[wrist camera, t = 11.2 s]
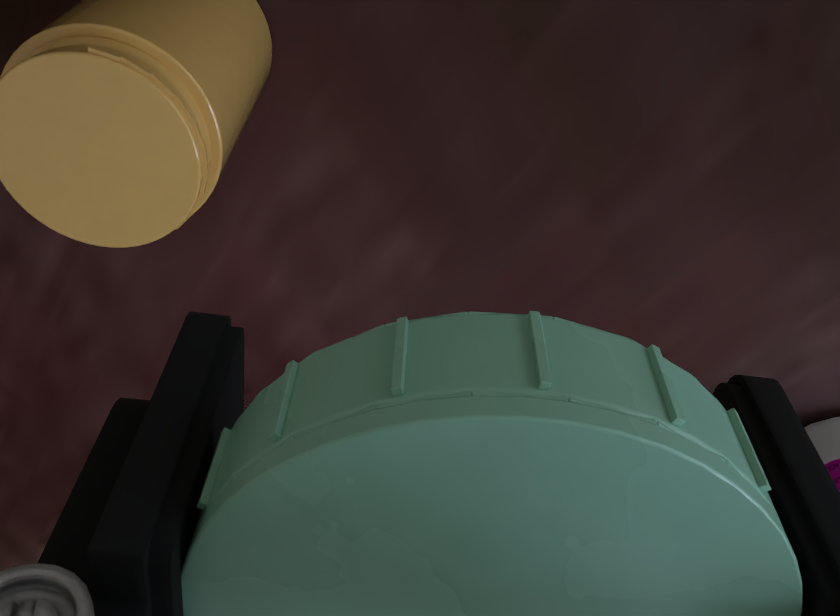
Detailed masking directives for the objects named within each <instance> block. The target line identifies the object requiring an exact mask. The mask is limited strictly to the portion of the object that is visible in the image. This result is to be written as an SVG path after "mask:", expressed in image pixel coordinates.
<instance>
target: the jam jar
mask: <svg viewBox="0 0 840 616" xmlns="http://www.w3.org/2000/svg"><path fill="white" fill-rule="evenodd" d="M271 61H272V43H271V36H270V32H269V28H268V24H267V22H266V19H265V16H264V14H263V12H262V10H261V8H260V6H259V4H258V3H257V1H256V0H81V1H80V2H79V3H77V4H76V5H74V6H73V7H72V8H70V9H69V10H68V11H66V12H65V13H64V14H62V15H61V16H59V17H58V18H57V19H55V20H54V21H53V22H51V23H50V24H48V25H47V26H46V27H44V28H43V29H42V30H40V31H39V32H37V33H36V34H35V35H33V36H32V37H31V38H29V39H28V40H26V41H25V42H24V43H22V44H21V45H20V46H19V47H18V48H17V49H16V51H15V52H14V53H13V54H12V55H11V57H10V58H9V60H8V61H7V63H6V64H5V67H4V69H3V71H2V73H1V76H0V180H1V182H2V183H3V185H4V187H5V188H6V189H7V191H8V192H9V193H10V194H11V196H12V197H13V198H14V199H15V200H16V201H17V202H18V203H19V204H20V205H21V206H22V207H23V208H24V209H25V210H26V211H27V212H28V213H29V214H31V215H32V216H33V217H34V218H36V219H37V220H38V221H40V222H41V223H43V224H44V225H46V226H47V227H49V228H51V229H53V230H54V231H56V232H58V233H60V234H62V235H64V236H67V237H69V238H71V239H74V240H77V241H80V242H83V243H87V244H91V245H96V246H102V247H112V248H122V247H133V246H139V245H143V244H147V243H150V242H153V241H155V240H158V239H160V238H162V237H164V236H166V235H167V234H169V233H171V232H172V231H173V230H175V229H176V230H177V229H178V228H179V227H180V226H181V225H182V224H183V223H184V222H185V221H186V220H187V219H188V218H189V217H190V216H191V215H193V214H194V213H195V212H196V211H197V210H198V209H199V208H200V207H201V206H202V205H203V204H204V203H205V202H206V201H207V199H208V198H209V196H210V195H211V193H212V192H213V190H214V188H215V186H216V184H217V182H218V180H219V178H220V176H221V174H222V172H223V170H224V168H225V165H226V163H227V161H228V159H229V157H230V155H231V153H232V151H233V149H234V147H235V145H236V143H237V141H238V139H239V137H240V135H241V133H242V130H243V128H244V126H245V124H246V122H247V120H248V118H249V116H250V114H251V112H252V110H253V108H254V106H255V104H256V102H257V100H258V97H259V95H260V93H261V91H262V89H263V87H264V85H265V83H266V81H267V78H268V75H269V72H270V68H271Z"/></svg>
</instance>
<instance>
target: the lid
mask: <svg viewBox="0 0 840 616" xmlns="http://www.w3.org/2000/svg"><path fill="white" fill-rule="evenodd" d="M769 490H771V487H770V485H769V482H768V480H767V478H766V476H765V473H764V471H763V469H762V467H761V464H760V462H759V460H758V458H757V455H756V453H755V451H754V449H753V446H752V444H751V442H750V440H749V437H748V435H747V433H746V431H745V428H744V426H743V424H742V422H741V419H740V417H739V415H738V413H737V412H736V410H735V409H734V408H732V409H730V410H728V411H726V410H725V409H724V407H723V406H722V405H721V403H720V402H719V401H718V400H717V399H716V398H715V397H714V396H713V395H712V394H711V393H710V392H709V391H707V390H706V389H705V388H704V387H703V386H702V385H701V384H700V382H699V381H698V380H697V379H696V378H695V377H694V376H692V375H691V374H690V373H688V372H686V371H685V370H683V369H681V368H680V367H678V366H676V365H674V364H673V363H671V362H670V361H668V360H667V359H665V358H664V357H662V354H661V351H660V348H658V347H656V346H654V345H652V344H651V345H650V346H649V347H648V348H646V347H644V346H642V345H641V344H639V343H637V342H635V341H634V340H630V339H629V338H627V337H623V336H620V335H616V334H613V333H609V332H606V331H602V330H599V329H596V328H593V327H589V326H585V325H581V324H578V323H575V322H571V321H568V320H564V319H561V318H557V317H552V316H540V312H537V311H530V312H529V315H522V314H505V313H488V312H471V311H470V312H468V313H467V312H460V313H453V314H447V315H440V316H434V317H426V318H421V319H414V320H408V319H407V317H402V318H398V319H397V322H395V323H389V324H386V325H381V326H379V327H376V328H374V329H371V330H369V331H366V332H364V333H361V334H359V335H356V336H354V337H351V338H348V339H345V340H343V341H341V342H339V343H336V344H334V345H331V346H329V347H326V348H324V349H321V350H319V351H316V352H314V353H313V354H310V355H309V356H308V357H306V358H305V359H304V360H302V361H301V362H300V363H297V362H295V361H294V360H292V361H291V362H289V363H288V364H287V365H286V369H285V373H284V374H283V375H281V376H280V377H279V378H278V379H277V380H275V381H274V382H273V383H271V384H270V385H269V386H267V387H266V388H265V389H263V390H262V391H261V392H260V393H259V394H258V395H257V396H256V397H255V399H254V400H253V401H252V403H251V404H250V405H249V406H248V408H247V409H246V410H245V411H244V412H243V413H242V415H241V416H240V417H239V418H238V419H237V421H236V422H235V424H234V426H233V428H232V429H231V430H230V429H228V428H225V427H224V428H223V430H222V432H221V434H220V437H219V440H218V443H217V446H216V449H215V452H214V455H213V458H212V461H211V464H210V467H209V470H208V473H207V476H206V479H205V482H204V485H203V488H202V491H201V494H200V497H199V500H198V503H197V506H196V507H197V508H199V509H201V510H200V514H199V517H198V520H197V523H196V526H195V529H194V532H193V535H192V538H191V541H190V545H189V548H188V551H187V554H186V557H185V560H184V563H183V566H182V570H181V585H182V601H183V616H801V613H802V580H801V575H800V571H799V567H798V561H797V558H796V556H795V554H794V551H793V549H792V547H791V544H790V542H789V540H788V538H787V536H786V533H785V531H784V529H783V526H782V524H781V522H780V519H779V517H778V515H777V512H776V510H775V508H774V506H773V503H772V501H771V499H770V496H769V494H768V492H767V491H769Z"/></svg>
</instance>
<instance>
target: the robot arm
mask: <svg viewBox="0 0 840 616" xmlns="http://www.w3.org/2000/svg"><path fill="white" fill-rule="evenodd" d="M713 396H714V397H715V398H716V399H717V400H718V401H719V402H720V403H721V405H722V406H723V407H724V409H725V410H726V411H728V410H730V409H732V408H734V409H735V410H736V412H737V413H738V415H739V417H740V419H741V422H742V424H743V426H744V428H745V431H746V433H747V435H748V437H749V440H750V442H751V444H752V446H753V449H754V451H755V453H756V455H757V458H758V460H759V462H760V464H761V467H762V469H763V471H764V473H765V476H766V478H767V480H768V482H769V485H770V487H771V490H769V491H767V492H768V494H769V496H770V499H771V501H772V503H773V506H774V508H775V510H776V512H777V515H778V517H779V519H780V522H781V524H782V526H783V529H784V531H785V533H786V536H787V538H788V540H789V542H790V544H791V547H792V549H793V551H794V554H795V556H796V558H797V561H798V567H799V571H800V575H801V580H802V613H801V616H840V492H839V490H838V488H837V486H836V485H835V483H834V481H833V479H832V477H831V475H830V474H829V472H828V470H827V468H826V466H825V465H824V463H823V461H822V459H821V457H820V456H819V454H818V452H817V450H816V448H815V446H814V445H813V443H812V441H811V439H810V437H809V436H808V434H807V432H806V430H805V428H804V427H803V425H802V423H801V421H800V419H799V417H798V416H797V414H796V412H795V410H794V408H793V407H792V405H791V403H790V401H789V399H788V398H787V396H786V394H785V392H784V390H783V388H782V387H781V385H780V384H779V383H778V381H776V380H774V379H770V378H761V377H752V376H744V375H734V376H733V377H732V378H730V379H729V381H728V382H727V383H720V384H719V385H718V386H717V387H716V389H715V391H714V393H713ZM243 412H244V329H243V328H240V327H231V319H230V317H229V316H224V315H216V314H207V313H198V312H189V313H188V315H187V317H186V319H185V321H184V323H183V326H182V328H181V330H180V333H179V335H178V337H177V340H176V342H175V344H174V347H173V349H172V351H171V354H170V356H169V359H168V361H167V363H166V366H165V368H164V370H163V373H162V375H161V377H160V380H159V382H158V384H157V387H156V389H155V391H154V394H153V396H152V398H151V401H148V400H138V399H129V398H120V399H119V400H117V401H116V402H115V404H114V406H113V407H112V409H111V411H110V413H109V415H108V417H107V419H106V421H105V423H104V425H103V428H102V430H101V432H100V434H99V436H98V438H97V440H96V442H95V444H94V446H93V448H92V450H91V453H90V455H89V457H88V459H87V461H86V463H85V465H84V467H83V469H82V471H81V473H80V476H79V478H78V480H77V482H76V484H75V486H74V488H73V490H72V492H71V494H70V496H69V498H68V501H67V503H66V505H65V507H64V509H63V511H62V513H61V515H60V517H59V519H58V521H57V523H56V526H55V528H54V530H53V532H52V534H51V536H50V538H49V540H48V542H47V544H46V546H45V549H44V551H43V553H42V555H41V557H40V559H39V561H38V563H34V564H27V565H20V566H14V567H11V568H8V569H6V570H3V571H1V572H0V616H183V601H182V585H181V570H182V566H183V563H184V560H185V557H186V554H187V551H188V548H189V545H190V541H191V538H192V535H193V532H194V529H195V526H196V523H197V520H198V517H199V514H200V510H201V509H199V508H197V507H196V506H197V503H198V500H199V497H200V494H201V491H202V488H203V485H204V482H205V479H206V476H207V473H208V470H209V467H210V464H211V461H212V458H213V455H214V452H215V449H216V446H217V443H218V440H219V437H220V434H221V432H222V430H223V428H224V427H225V428H228V429H230V430H231V429H232V428H233V426H234V424H235V422H236V421H237V419H238V418H239V417H240V416H241V415H242V413H243Z"/></svg>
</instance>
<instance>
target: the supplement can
mask: <svg viewBox="0 0 840 616" xmlns="http://www.w3.org/2000/svg"><path fill="white" fill-rule="evenodd" d="M804 428H805V430H806V432H807V434H808V436H809V437H810V439H811V441H812V443H813V445H814V446H815V448H816V450H817V452H818V454H819V456H820V457H821V459H822V461H823V463H824V465H825V466H826V468H827V470H828V472H829V474H830V475H831V477H832V479H833V481H834V483H835V485H836V486H837V488H838V490H839V492H840V417H834V418H830V419H827V420H823V421H820V422H816V423H812V424H810V425H808V426H806V427H804Z"/></svg>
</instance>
